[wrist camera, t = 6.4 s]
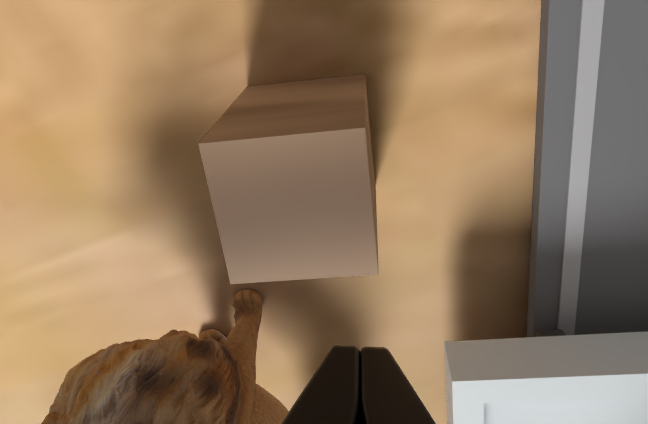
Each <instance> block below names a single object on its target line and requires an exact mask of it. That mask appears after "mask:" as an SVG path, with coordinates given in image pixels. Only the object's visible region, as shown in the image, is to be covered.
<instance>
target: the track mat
mask: <svg viewBox="0 0 648 424" xmlns="http://www.w3.org/2000/svg"><path fill="white" fill-rule="evenodd" d="M558 329H560V330H562V331H564V333H565V334H566V336H567V335H587V334H607V333H627V332H647V331H648V0H542V2H541V24H540V47H539V69H538V92H537V114H536V136H535V159H534V181H533V204H532V226H531V248H530V271H529V293H528V315H527V337H534V334H535V332H536V331H539V330H558Z"/></svg>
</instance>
